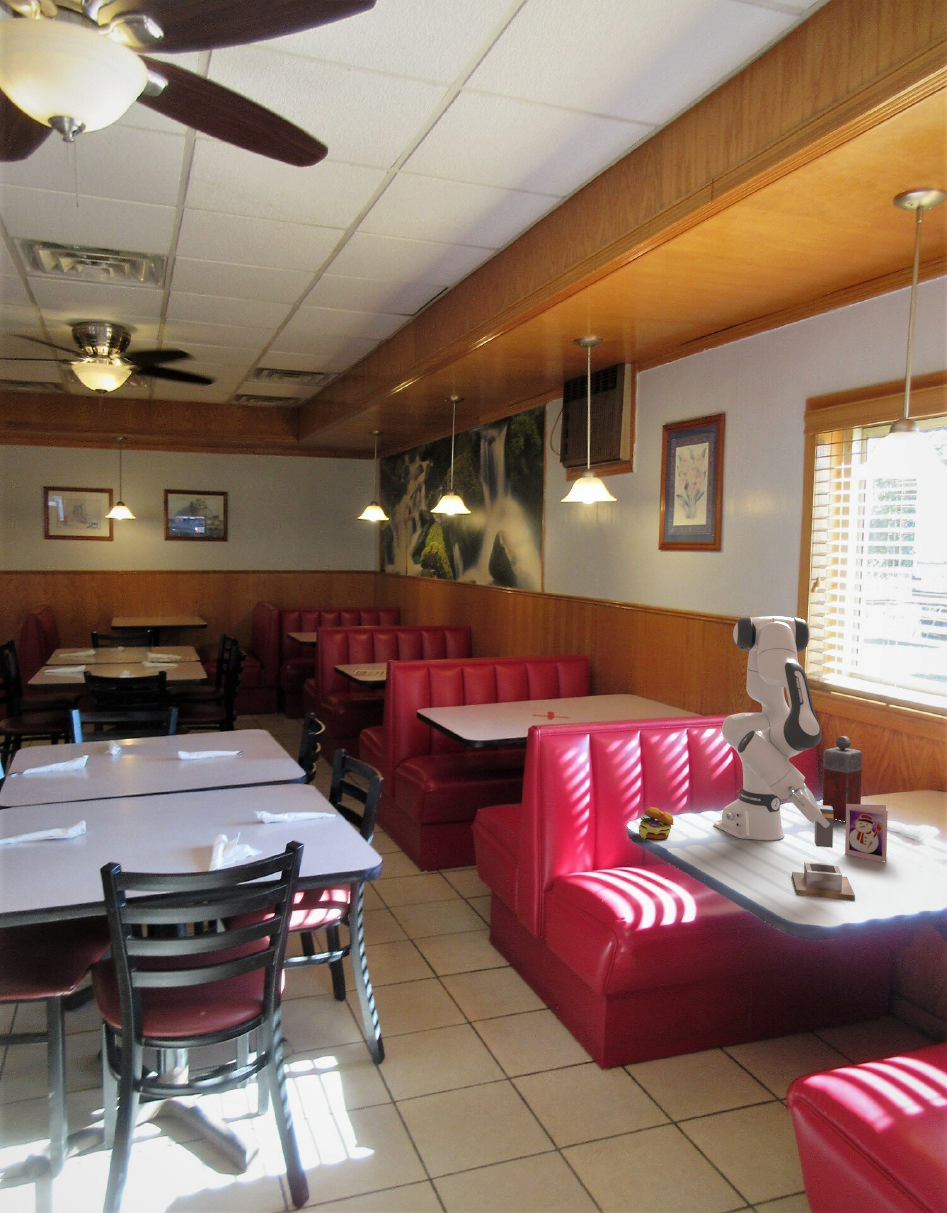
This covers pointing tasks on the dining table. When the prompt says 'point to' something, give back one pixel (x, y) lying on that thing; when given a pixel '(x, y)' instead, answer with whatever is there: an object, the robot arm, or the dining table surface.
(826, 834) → the block
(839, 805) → the pepper mill
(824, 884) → the holder
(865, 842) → the greeting card
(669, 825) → the cheeseburger
